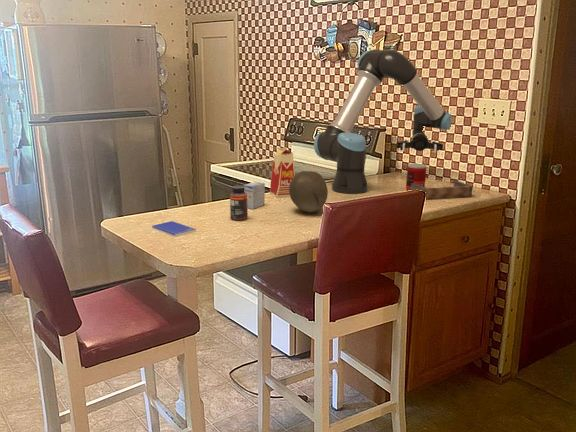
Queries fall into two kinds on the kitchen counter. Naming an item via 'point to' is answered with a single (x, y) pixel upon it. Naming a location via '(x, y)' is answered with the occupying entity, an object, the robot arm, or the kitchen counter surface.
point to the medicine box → (255, 194)
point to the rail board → (446, 191)
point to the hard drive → (173, 228)
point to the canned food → (415, 175)
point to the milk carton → (282, 173)
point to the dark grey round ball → (308, 191)
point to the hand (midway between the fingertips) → (419, 149)
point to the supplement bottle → (238, 204)
